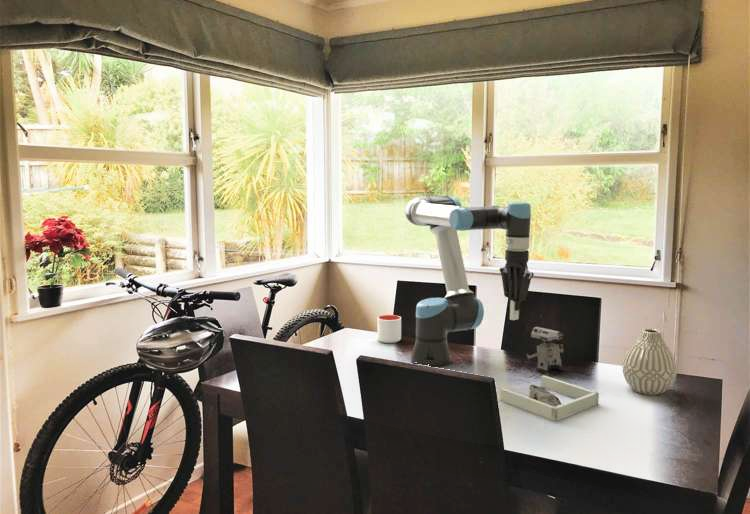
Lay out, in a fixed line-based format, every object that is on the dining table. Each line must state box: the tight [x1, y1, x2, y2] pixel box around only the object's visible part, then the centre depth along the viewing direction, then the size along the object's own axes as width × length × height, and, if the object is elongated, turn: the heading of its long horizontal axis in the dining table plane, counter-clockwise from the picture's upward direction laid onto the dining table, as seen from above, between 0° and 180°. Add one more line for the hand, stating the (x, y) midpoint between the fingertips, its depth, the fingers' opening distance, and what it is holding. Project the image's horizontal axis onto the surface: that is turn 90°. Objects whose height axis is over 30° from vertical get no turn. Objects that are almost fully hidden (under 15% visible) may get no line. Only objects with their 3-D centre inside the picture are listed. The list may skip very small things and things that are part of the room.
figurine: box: [523, 326, 565, 375], centre depth 216 cm, size 9×12×15 cm
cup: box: [377, 314, 402, 344], centre depth 255 cm, size 10×10×10 cm
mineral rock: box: [528, 384, 562, 407], centre depth 184 cm, size 15×8×4 cm, turn 178°
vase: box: [622, 328, 678, 396], centre depth 194 cm, size 16×16×20 cm
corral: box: [499, 374, 600, 422], centre depth 186 cm, size 20×21×4 cm
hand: (514, 319), depth 201 cm, fingers closed
